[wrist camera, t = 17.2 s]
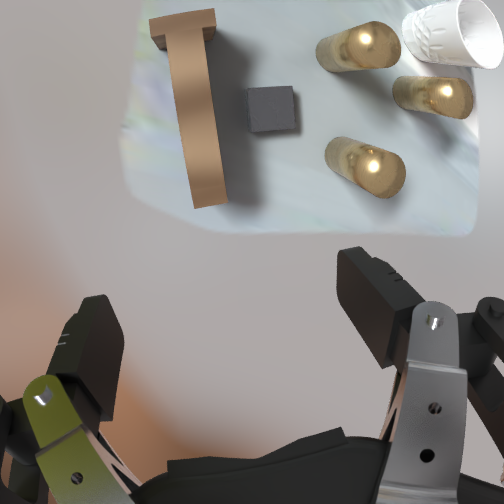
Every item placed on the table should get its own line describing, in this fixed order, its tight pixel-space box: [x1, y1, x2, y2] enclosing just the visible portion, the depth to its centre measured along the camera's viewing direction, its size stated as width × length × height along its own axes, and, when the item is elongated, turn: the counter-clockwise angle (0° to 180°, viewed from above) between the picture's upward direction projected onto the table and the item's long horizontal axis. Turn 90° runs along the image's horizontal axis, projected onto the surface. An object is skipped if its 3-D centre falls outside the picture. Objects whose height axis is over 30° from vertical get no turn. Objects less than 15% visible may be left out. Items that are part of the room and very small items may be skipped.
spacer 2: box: [325, 137, 406, 198], centre depth 28 cm, size 4×4×9 cm
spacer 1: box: [316, 21, 401, 73], centre depth 22 cm, size 4×4×9 cm
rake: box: [149, 8, 228, 209], centre depth 24 cm, size 16×5×6 cm, turn 7°
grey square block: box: [245, 86, 296, 132], centre depth 28 cm, size 4×4×2 cm
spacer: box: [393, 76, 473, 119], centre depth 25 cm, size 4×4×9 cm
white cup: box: [402, 0, 504, 69], centre depth 22 cm, size 8×8×10 cm
